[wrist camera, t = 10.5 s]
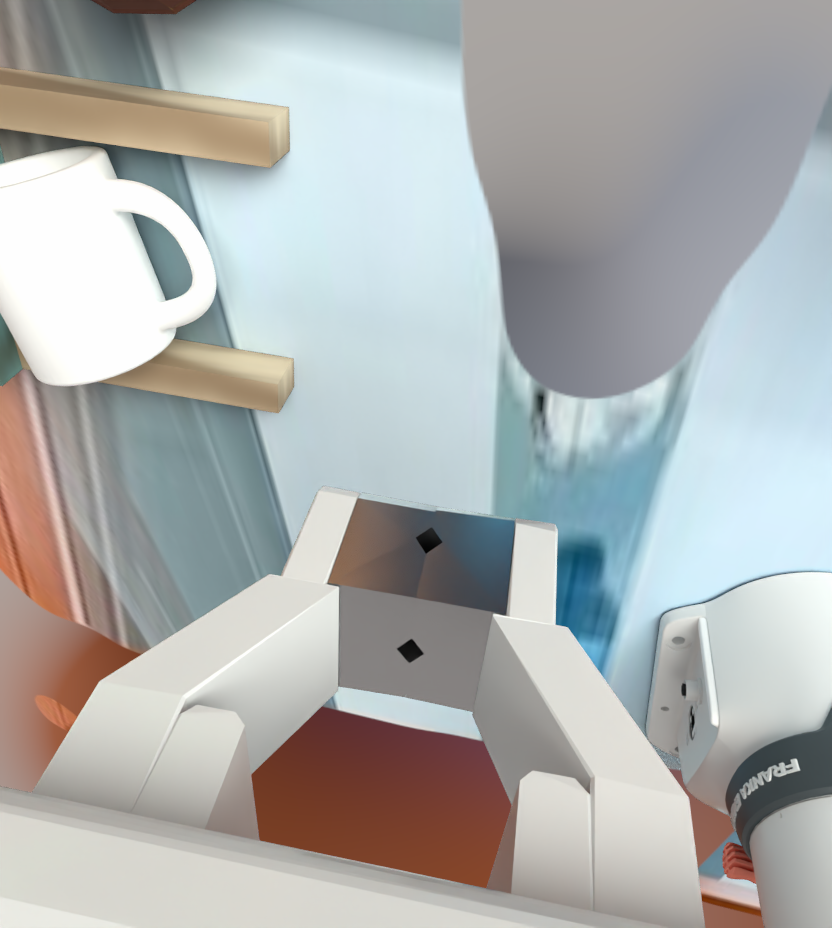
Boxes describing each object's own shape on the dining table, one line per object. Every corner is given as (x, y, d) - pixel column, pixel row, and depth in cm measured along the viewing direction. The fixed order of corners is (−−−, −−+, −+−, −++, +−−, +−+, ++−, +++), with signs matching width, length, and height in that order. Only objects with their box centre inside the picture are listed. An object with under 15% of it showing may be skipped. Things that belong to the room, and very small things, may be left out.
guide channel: (293, 386, 46) (267, 432, 42) (20, 340, 47) (-30, 380, 43) (288, 107, 36) (253, 133, 32) (-58, 59, 37) (-132, 78, 33)
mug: (83, 324, 46) (5, 392, 39) (3, 157, 40) (-103, 206, 34) (262, 307, 43) (208, 378, 37) (203, 124, 37) (128, 171, 31)
